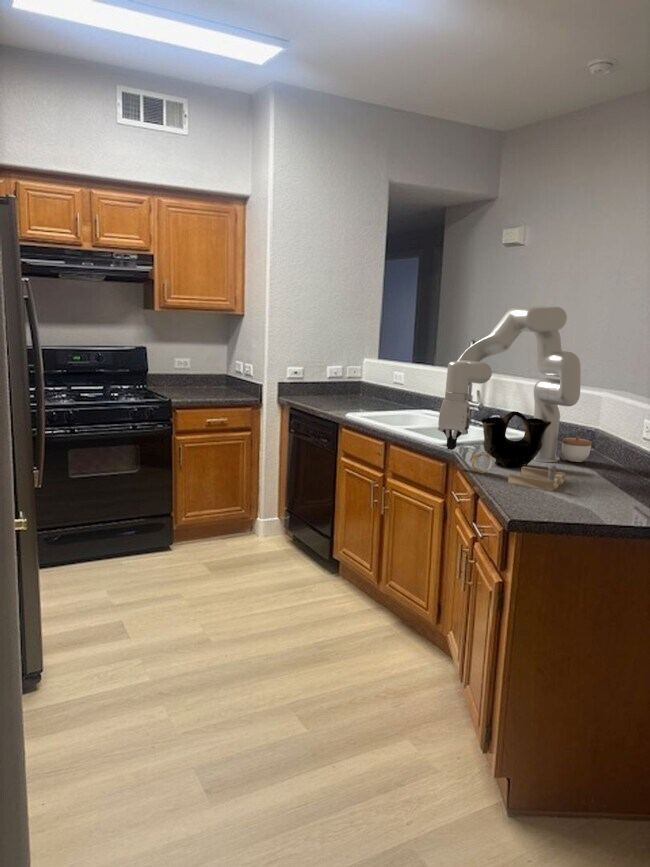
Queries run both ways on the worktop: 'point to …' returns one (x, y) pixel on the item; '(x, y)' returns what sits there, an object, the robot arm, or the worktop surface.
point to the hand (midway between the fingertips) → (451, 449)
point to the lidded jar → (576, 448)
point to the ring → (479, 456)
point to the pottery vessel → (513, 450)
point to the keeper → (538, 478)
